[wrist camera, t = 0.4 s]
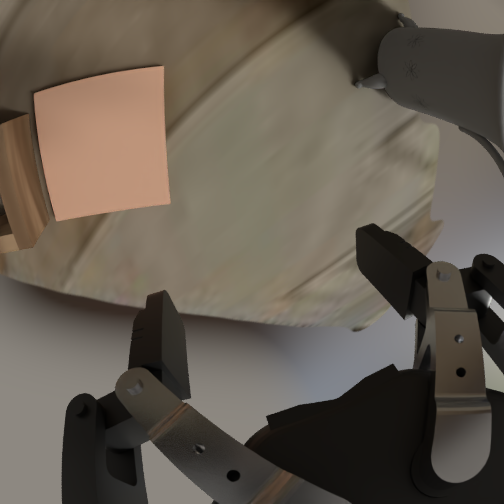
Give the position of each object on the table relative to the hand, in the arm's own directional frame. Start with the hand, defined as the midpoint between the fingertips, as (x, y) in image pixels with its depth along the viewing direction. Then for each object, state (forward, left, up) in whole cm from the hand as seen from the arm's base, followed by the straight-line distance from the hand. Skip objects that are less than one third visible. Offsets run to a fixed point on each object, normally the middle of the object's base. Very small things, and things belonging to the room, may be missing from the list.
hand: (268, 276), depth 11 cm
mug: (-12, +25, -22) cm, 35 cm away
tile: (-2, -11, -22) cm, 24 cm away
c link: (-1, -24, -22) cm, 32 cm away
